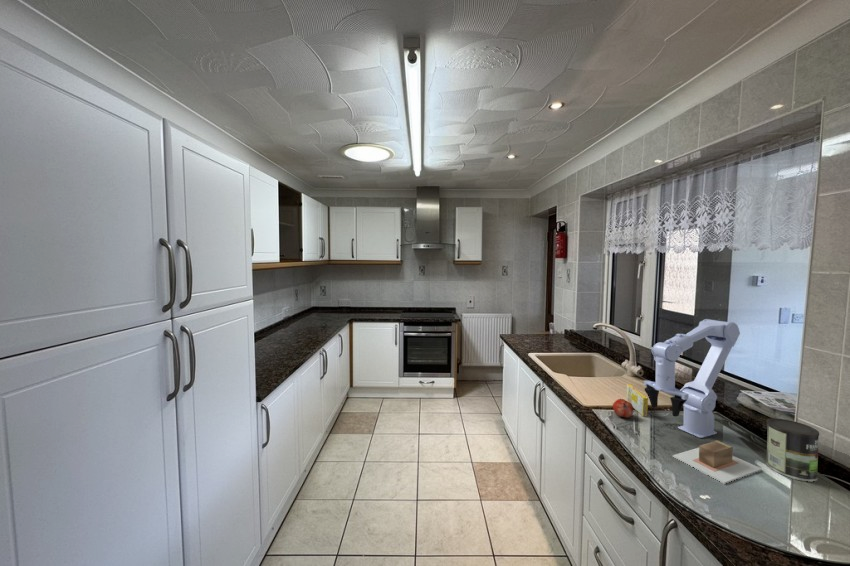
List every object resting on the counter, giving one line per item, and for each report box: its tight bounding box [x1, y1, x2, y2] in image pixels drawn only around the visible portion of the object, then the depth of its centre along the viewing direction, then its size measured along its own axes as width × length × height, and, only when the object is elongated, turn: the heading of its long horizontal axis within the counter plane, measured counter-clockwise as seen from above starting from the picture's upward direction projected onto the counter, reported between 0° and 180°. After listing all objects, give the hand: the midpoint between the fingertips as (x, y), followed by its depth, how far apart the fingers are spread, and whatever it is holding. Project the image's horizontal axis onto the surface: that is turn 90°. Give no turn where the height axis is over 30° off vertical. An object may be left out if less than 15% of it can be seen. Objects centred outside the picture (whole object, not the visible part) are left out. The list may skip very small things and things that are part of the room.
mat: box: [672, 447, 763, 485], centre depth 99 cm, size 18×14×1 cm
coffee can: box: [766, 417, 820, 483], centre depth 95 cm, size 10×10×14 cm
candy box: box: [625, 383, 649, 418], centre depth 139 cm, size 16×2×8 cm, turn 168°
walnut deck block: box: [698, 439, 734, 468], centre depth 99 cm, size 4×9×5 cm, turn 108°
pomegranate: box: [612, 398, 634, 419], centre depth 132 cm, size 7×7×10 cm
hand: (664, 411), depth 116 cm, fingers open, 7 cm apart
